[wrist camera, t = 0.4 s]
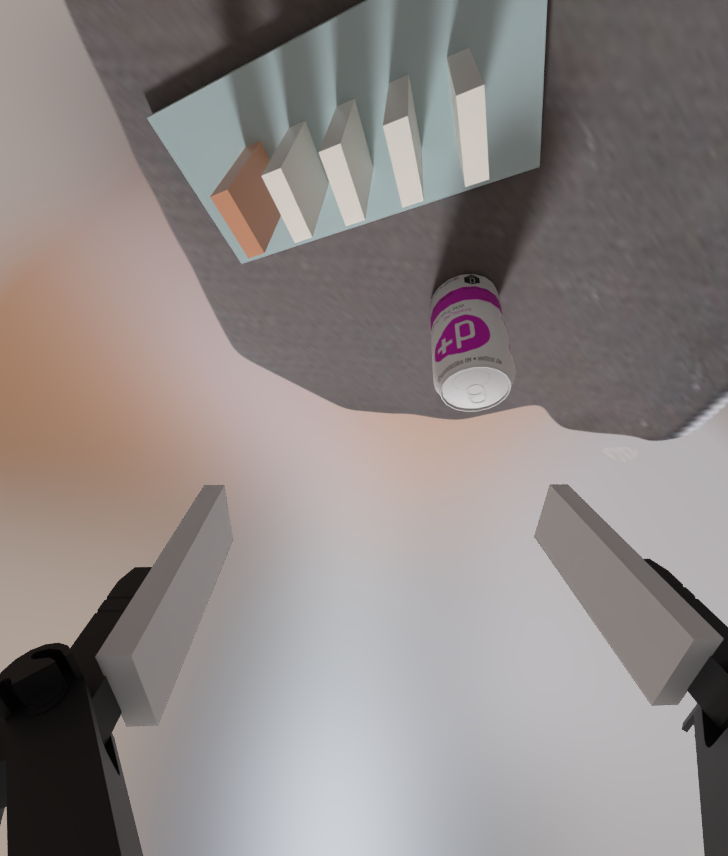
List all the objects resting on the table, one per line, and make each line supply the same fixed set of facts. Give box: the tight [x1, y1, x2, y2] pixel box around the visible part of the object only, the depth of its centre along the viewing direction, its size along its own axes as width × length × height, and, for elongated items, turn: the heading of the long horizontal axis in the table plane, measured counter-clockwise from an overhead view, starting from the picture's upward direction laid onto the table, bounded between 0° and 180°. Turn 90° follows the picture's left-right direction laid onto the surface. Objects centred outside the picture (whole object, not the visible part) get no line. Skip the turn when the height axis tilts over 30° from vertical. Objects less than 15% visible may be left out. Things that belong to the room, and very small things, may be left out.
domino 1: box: [210, 141, 281, 258], centre depth 31 cm, size 2×5×10 cm, turn 19°
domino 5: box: [447, 48, 489, 187], centre depth 25 cm, size 2×5×10 cm, turn 20°
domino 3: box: [318, 99, 373, 226], centre depth 28 cm, size 2×5×10 cm, turn 19°
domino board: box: [147, 0, 547, 264], centre depth 32 cm, size 14×32×1 cm, turn 109°
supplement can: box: [430, 274, 515, 412], centre depth 41 cm, size 8×8×15 cm
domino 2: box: [261, 121, 329, 243], centre depth 30 cm, size 2×5×10 cm, turn 20°
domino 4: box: [383, 74, 424, 208], centre depth 27 cm, size 2×5×10 cm, turn 19°
